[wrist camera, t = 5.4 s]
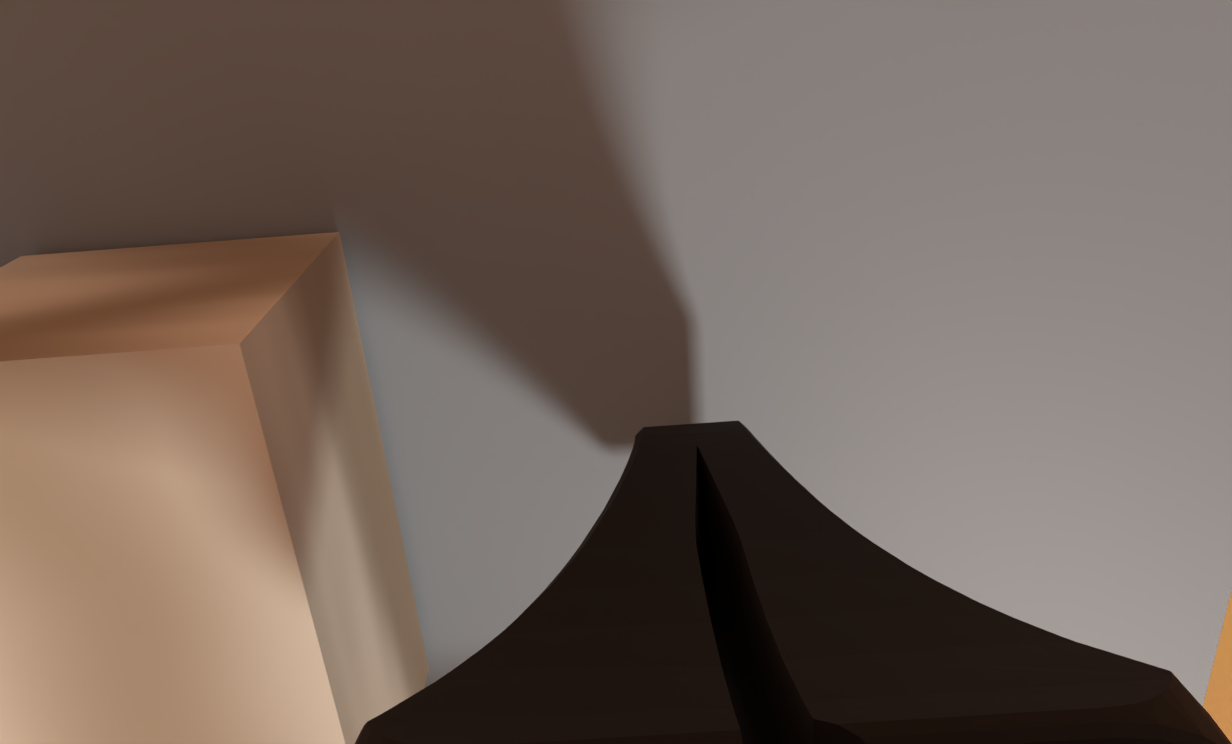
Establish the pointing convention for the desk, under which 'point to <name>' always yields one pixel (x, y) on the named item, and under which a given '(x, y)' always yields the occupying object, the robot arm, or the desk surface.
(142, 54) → the gauge board
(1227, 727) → the desk surface
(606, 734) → the robot arm
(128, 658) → the block
